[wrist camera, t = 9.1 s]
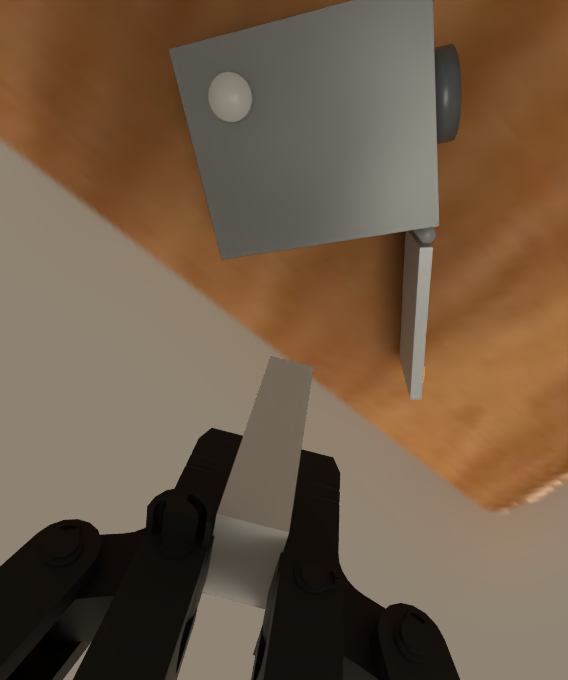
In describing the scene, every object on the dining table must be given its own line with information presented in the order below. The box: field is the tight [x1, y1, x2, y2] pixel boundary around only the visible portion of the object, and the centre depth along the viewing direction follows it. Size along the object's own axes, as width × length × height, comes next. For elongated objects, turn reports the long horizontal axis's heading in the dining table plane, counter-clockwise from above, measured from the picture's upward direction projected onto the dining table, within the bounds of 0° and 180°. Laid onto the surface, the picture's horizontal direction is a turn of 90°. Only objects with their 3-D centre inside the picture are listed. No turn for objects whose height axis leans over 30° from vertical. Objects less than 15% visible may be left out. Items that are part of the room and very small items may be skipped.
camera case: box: [169, 0, 461, 260], centre depth 27 cm, size 16×13×9 cm
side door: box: [399, 230, 433, 399], centre depth 32 cm, size 12×1×7 cm, turn 5°
